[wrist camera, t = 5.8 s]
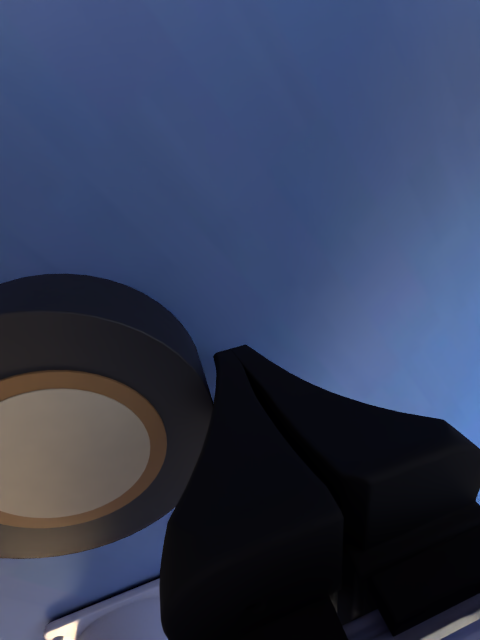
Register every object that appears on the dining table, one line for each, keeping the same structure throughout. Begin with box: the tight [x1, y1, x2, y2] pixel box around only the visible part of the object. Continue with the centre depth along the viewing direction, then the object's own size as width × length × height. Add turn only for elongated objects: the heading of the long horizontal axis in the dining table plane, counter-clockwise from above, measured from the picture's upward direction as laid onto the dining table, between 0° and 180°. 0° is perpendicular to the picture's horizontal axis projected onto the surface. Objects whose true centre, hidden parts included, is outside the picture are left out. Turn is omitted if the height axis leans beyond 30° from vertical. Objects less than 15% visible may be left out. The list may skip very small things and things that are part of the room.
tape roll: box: [0, 274, 213, 559], centre depth 10 cm, size 9×9×3 cm
